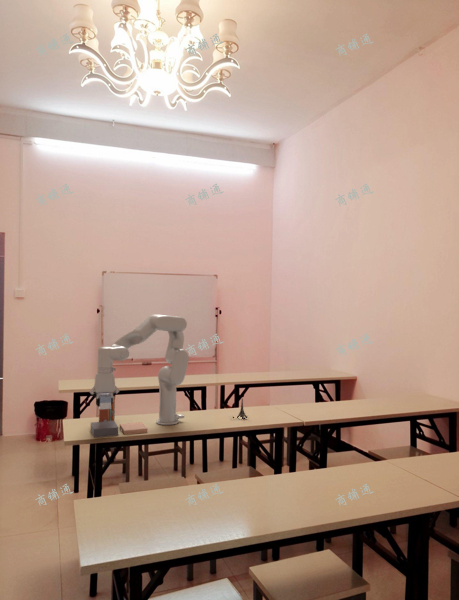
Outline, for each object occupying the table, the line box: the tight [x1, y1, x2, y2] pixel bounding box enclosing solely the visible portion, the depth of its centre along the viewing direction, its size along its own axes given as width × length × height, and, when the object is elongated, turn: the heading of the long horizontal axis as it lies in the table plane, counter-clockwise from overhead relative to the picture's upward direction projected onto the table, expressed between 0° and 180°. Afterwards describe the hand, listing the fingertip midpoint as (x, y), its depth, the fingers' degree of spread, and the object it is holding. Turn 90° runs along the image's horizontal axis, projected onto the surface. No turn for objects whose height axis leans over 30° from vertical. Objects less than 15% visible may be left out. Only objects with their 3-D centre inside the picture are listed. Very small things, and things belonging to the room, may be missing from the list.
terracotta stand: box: [119, 421, 149, 436], centre depth 247 cm, size 12×14×2 cm
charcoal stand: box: [90, 420, 119, 438], centre depth 241 cm, size 12×14×4 cm
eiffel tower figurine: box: [237, 398, 248, 421], centre depth 276 cm, size 15×10×13 cm
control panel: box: [98, 390, 116, 422], centre depth 261 cm, size 21×7×15 cm
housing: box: [98, 393, 111, 410], centre depth 241 cm, size 6×9×6 cm, turn 23°
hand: (104, 405), depth 241 cm, fingers closed on housing, 5 cm apart
